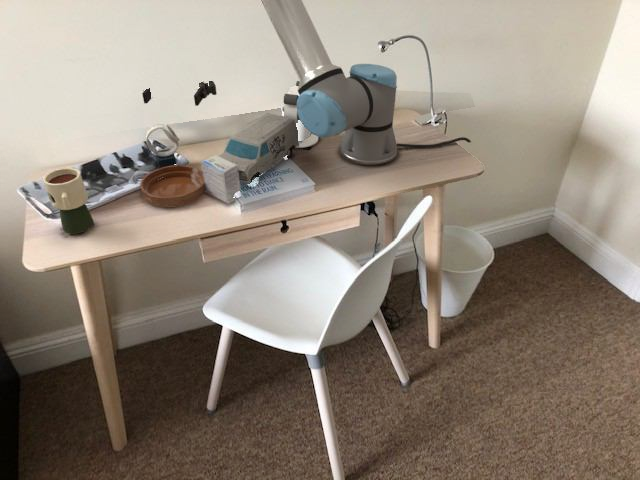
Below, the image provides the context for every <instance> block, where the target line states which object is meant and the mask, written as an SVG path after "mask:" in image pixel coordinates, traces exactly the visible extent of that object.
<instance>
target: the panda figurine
mask: <svg viewBox="0 0 640 480" xmlns="http://www.w3.org/2000/svg"><path fill="white" fill-rule="evenodd" d="M299 83H300V80H297V81H296V83H295V85H292V86H291V87H290V88H289V90H288V91H287V93H284V95H283V105H284V106H283V116H284V117H288V118H291V119H294V121H295V123H298V120H300V119H299V116H298V113H297V109H298V107H297V100H298V98H299V96H300V95H299V93H298V91H297V90H298V86H299ZM318 142H319V137H318V136H316V135H313V134H311V136H310V137H309V138H307V139H305V140H302V141H298V143H299V146H298V145H297V147H296V148H295V149H305V148H309V147H312V146H314V145H316V144H317V143H318Z"/></svg>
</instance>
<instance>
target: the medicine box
mask: <svg viewBox="0 0 640 480" xmlns="http://www.w3.org/2000/svg"><path fill="white" fill-rule="evenodd" d="M219 156H220V155H215V154H214V155H212V156H210V157H208V158H206V159H204V160H202V161H201V169H202V172H203V174H204V181H205V187H206V192H205V193H206V194H207V195H208V194H209V195H210V196H212V197H214V198H217V199H218V200H220V201H222V202H224V203H225V204H228V205H229V204H231V203H233V202H235V201H237V199H236V197H235V198H233V197H234V194H235V193H236V192H238V191H240V190H241V183H240V181H239V173H238V166H237V165H236V164H234V163H232V162H229V161H227V160H225V159H223V158H221V157H219ZM241 191H242V190H241Z"/></svg>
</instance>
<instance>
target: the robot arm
mask: <svg viewBox="0 0 640 480" xmlns="http://www.w3.org/2000/svg"><path fill="white" fill-rule="evenodd" d="M261 1H262V6H263V7H264V10H265V12H266V14H267V16H268V19H269V20H270V22H271V25H272V26H273V29H274V31H275V32H276V35H277V36H278V39H279V41H280V43H281V45H282V47H283V49H284V51H285V53H286V56H287V57H288V59H289V61H290V64H291V66H292V68H293V71H294V72H295V74H296V75H297V76H296V77H297V78H298V81H300V83H299V86H298V90H297V91H298V93H299V95H300V96H299V98H298V100H297V107H298V109H297V113H298V116H299V119H300V121H301V122H302V124H303V125H304V127H305V128H306V129H307V130H308V131H309V132H310V133H312V134H313V135H316V136H318V138H321V139H326V138H327V139H328V138H330V137H333V136H339V135H341V134H342V133H343V132H344V134H343V137H342V140H341V142H340V155H341V156H342V157H343V158H344V159H345V160H346V161H348V162H350V163H353V164H358V165H361V166H380V165H385V164H388V163H390V162H391V161H393V160H395V159H396V157H397V154H398V148H400V147H401V148H423V149H424V148H436V147H440V146H444V145H450V144H453V143H457V142H461V141H465V142H467V143H472V141H471V140H470V138H468V137H463V136H461V137H457V138H453V139H451V140H447V141H442V142H438V143H437V142H436V143H432V144H431V143H430V144H415V143H414V144H410V143H397V140H396V134H395V132H394V131H395V130H394V128H393V127H394V117H395V107H396V106H395V105H396V97H397V96H396V95H397V88H398V86H397V79H398V77H397V76H398V75H397V74H396V72H395V70H393V69H391V68H390V67H387V66H384V65H380V64H374V63H357V64H353V65H351V67H350V70H349V73H348V74H349V76H348V77H346V75H345V73H344V71H343V69H342V67H341V66H338V65H335V64H333V63H332V61H331V58H330V57H329V55H328V52H327V50H326V48H325V46H324V44H323V42H322V40H321V38H320V36H319V34H318V32H317V28H316V27H315V25H314V22H313V21H312V19H311V16H310V14H309V12H308V11H307V8H306V5H305V4H304V2H303V0H261ZM199 87H200V88H199V89H197V91H196V92H195V93H194V95H193V101H194V106H196V107H198V106H199V105H200V103H202V101H203V99H204V100H205V99H207V97H208V96H210V94H211V95H212V96H216V95H217V94H218V93H217V87H216V84H215V82H214V80H213V81H209V86H208V83H205V82H204V81H203V82H201V83H199ZM141 94H142V100H143V104H148V103H149V102H150V101H151V100H152V98H151V92H150V88H149V89H146V90H145V91H144V90H143V92H142V93H141Z"/></svg>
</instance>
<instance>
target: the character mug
mask: <svg viewBox="0 0 640 480" xmlns="http://www.w3.org/2000/svg"><path fill="white" fill-rule="evenodd" d="M42 182H43V185H44V187H45V191H46V193H47V197H48V199H49V201H50V205H52V207H53V208H54V209H57V210H59V217H60V223H61V226H62V230H63V231H62V232H64V233H65V234H67V235H75V234H79V233H82V232H86V231H88V230H90V229H92V227H93V226H94V225H95V224H94V223H95V221H94V219H93V216H92V214H91V212H90V209H89V208H88V206H87V204H86V203H87V202H88V200H89V196H88V192H87V189H86V186H85V183H84V180H83V177H82V173H81V172H80V170H79V169H77V168H75V167H61V168H58V169H54V170H52V171H50V172H48V173H46V174H45V175H44V176H43V178H42Z"/></svg>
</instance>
